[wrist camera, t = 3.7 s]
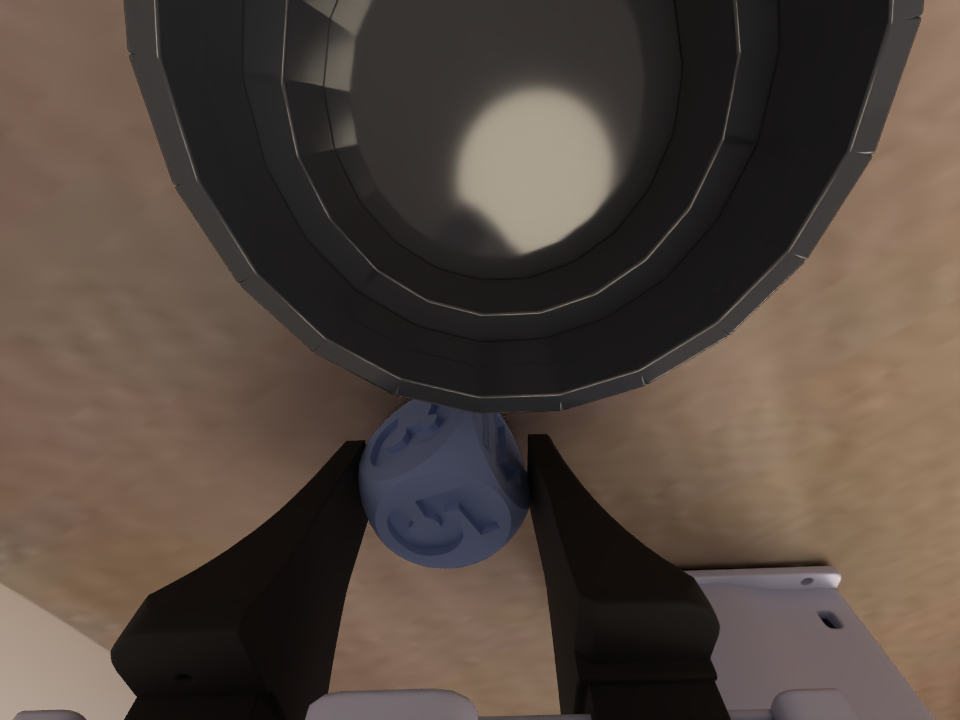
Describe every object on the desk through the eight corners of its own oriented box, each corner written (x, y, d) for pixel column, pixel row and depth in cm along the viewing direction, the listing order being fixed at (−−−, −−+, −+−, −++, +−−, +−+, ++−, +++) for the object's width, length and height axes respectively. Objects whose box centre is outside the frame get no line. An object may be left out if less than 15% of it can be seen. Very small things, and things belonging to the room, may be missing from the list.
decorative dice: (526, 449, 16) (539, 540, 13) (434, 491, 17) (423, 586, 14) (469, 367, 15) (467, 446, 11) (371, 418, 16) (341, 505, 12)
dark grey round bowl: (777, -224, 9) (1158, -650, 4) (679, 303, 14) (788, 402, 9) (220, -193, 9) (-92, -571, 4) (330, 317, 14) (254, 423, 9)
